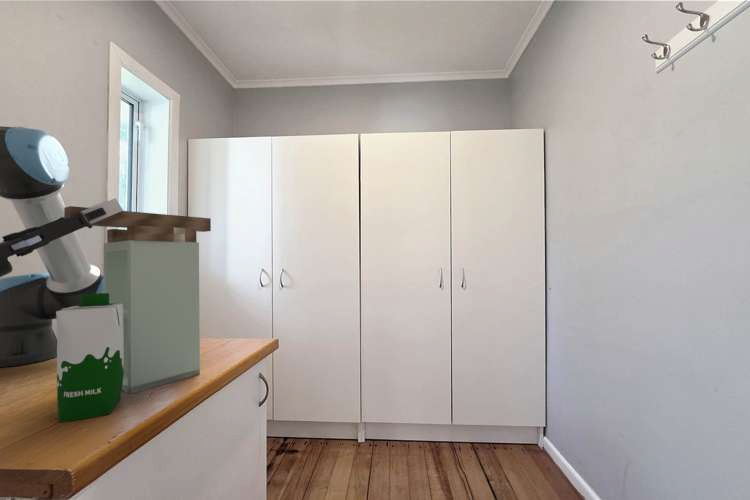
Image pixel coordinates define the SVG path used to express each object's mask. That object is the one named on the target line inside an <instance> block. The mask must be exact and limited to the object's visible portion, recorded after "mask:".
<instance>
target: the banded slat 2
mask: <svg viewBox="0 0 750 500" xmlns="http://www.w3.org/2000/svg"><path fill="white" fill-rule="evenodd" d="M126 230H127V241H130V240H134V241H166V242H197V231H196V229H185V228H175V227H174V228H168V227H153V226H139V225H133V226H127V228H126Z"/></svg>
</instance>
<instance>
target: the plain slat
mask: <svg viewBox="0 0 750 500" xmlns="http://www.w3.org/2000/svg"><path fill="white" fill-rule="evenodd" d="M86 209H89V208H88V207H84V206H71V205H69V206H65V208H64V219H65V218H68V217H71V216H73V215H76V214H77V213H79V212H81V211H83V210H86ZM211 224H212V223H211V217H210V218H209V217H201V216H200V217H199V216H198V217H197V216H187V215H176V214H165V213H163V214H162V213H156V212H155V213H153V212H142V211H129V210H123V211H121V212H118V213H116V214H114V215H111V216H109V217H106V218H104V219H102V220H99V221H97V222H94V223H92V224H91V225H92V227H103V228H104V227H105V228H107V227H108V228H125V229H127V226H133V225H139V226H153V227H168V228H174V227H175V228H185V229H196V233H197V232H199V233H200V232H201V233H203V232H204V233H205V232H206V233H207V232H211V231H212V229H211V227H212V226H211Z"/></svg>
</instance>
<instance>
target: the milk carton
mask: <svg viewBox="0 0 750 500" xmlns="http://www.w3.org/2000/svg"><path fill="white" fill-rule="evenodd" d="M56 318H57V319H56V331H57V336H56V338H57V357H56V390H57V392H56V395H57V397H56V398H57V422H58V423H62V422H63V423H65V422H70V421H75V420H83V419H88V418H95V417H101V416H107V415H111V414H112V413H113V411H114V410H115V408H117V406H118V404H119V403H120V402H121V399H122V392H123V390H122V384H123V374H124V330H123V304H115V303H113V304H109V293H98V294H85V295H81V306H72V307H69V308H63V309H62V310H60V311H57V312H56Z"/></svg>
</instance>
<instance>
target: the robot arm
mask: <svg viewBox="0 0 750 500" xmlns="http://www.w3.org/2000/svg"><path fill="white" fill-rule="evenodd" d="M68 158H69V157H68V156H67V154H66V151H65V150H64V148H63V146H62V145H61V143H60V142H59V141H58V140H57V138H55V137H54V136H53V135H52V134H50V133H48V132H46V131H44V130H42V129H36V128H27V127H24V126H1V125H0V198H2V199H5V200H8V201H11V203H12V206H13V207H14V210H15V211H16V213H17V215H18V217H19V220H21V222H22V224H23V227H24V229H23V230H20V231H18V232H11V233H9V234H6V235H3V236H1V238H2V239H3V240H2V241H1V242H0V368H2V367H12V366H13V367H14V366H21V365H28V364H33V363H34V364H35V363H37V362H43V361H47V360H50V359H53V358H57V336H56V334H55V331H54V329H53V320H57V318H56V312H57V311H60V310H62V309H63V308H69V307H72V306H81V295H85V294H98V293H104V275H102V274H101V271H100V269H99V268H98V266H97V265H95V264H92V263H90V262H89V260H88V258H87V254H86V253H85V249H84V248H83V246H82V242H81V240H80V239H79V236H78V233H77V231H79V230H81V229H83V228H87V229H92V228H93V226H92V225H91V224H92V223H94V222H97V221H99V220H102V219H104V218H106V217H109V216H111V215H114V214H116V213H118V212H121V211H124V209H123V208H122V206H121V205H120V203H119V201H118V199H117V198H112V199H109V200H108V199H106V200H104V201H102V202H99V203H97V204H94V205H90V206H88V207H87V208H89V209H86V210H83V211H81V212H79V213H77V214H76V215H73V216H71V217H68V218H65V219H64V208H65V207H66V204H65V203H64V200H63V197H62V196H61V192H60V191H61V190H62V189H63V188H64V186H65V183H64V182H66V181H67V179H68V177H69V174H70V167H69V166H68V165H69V164H70V163H69V159H68ZM35 250H36V252H37V253H38V255H39V257H40V259H41V261H42V264H43V265H44V267H45V269H46V271H47V272H39V273H38V272H37V273H29V274H28V273H27V274H21V275H12V276H6V275H8V274H11V273H12V272H13V265H12V263H11V262H10V261H9V259H8V258H10V257H12V256H14V255H16V257H17V258H18V257H24V256H26V255H29V254H31V253H33V251H35ZM4 276H5V277H4Z"/></svg>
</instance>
